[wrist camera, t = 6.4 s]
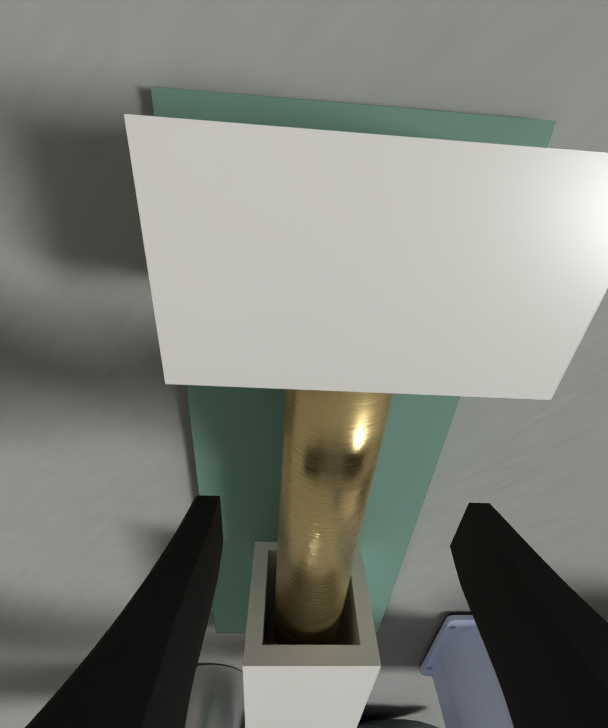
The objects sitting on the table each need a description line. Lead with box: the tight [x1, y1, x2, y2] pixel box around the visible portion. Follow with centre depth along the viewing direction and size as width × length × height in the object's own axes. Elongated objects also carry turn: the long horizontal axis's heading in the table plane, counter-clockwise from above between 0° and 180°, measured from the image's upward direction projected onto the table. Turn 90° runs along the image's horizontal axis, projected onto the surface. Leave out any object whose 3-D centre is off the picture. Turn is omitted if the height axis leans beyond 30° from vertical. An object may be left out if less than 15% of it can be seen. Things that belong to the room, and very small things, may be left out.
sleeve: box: [243, 542, 381, 728], centre depth 21 cm, size 11×6×6 cm, turn 176°
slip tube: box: [274, 389, 393, 645], centre depth 15 cm, size 21×4×4 cm, turn 176°
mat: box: [151, 87, 556, 634], centre depth 19 cm, size 32×12×1 cm, turn 176°
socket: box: [124, 114, 608, 400], centre depth 10 cm, size 5×9×6 cm, turn 86°
